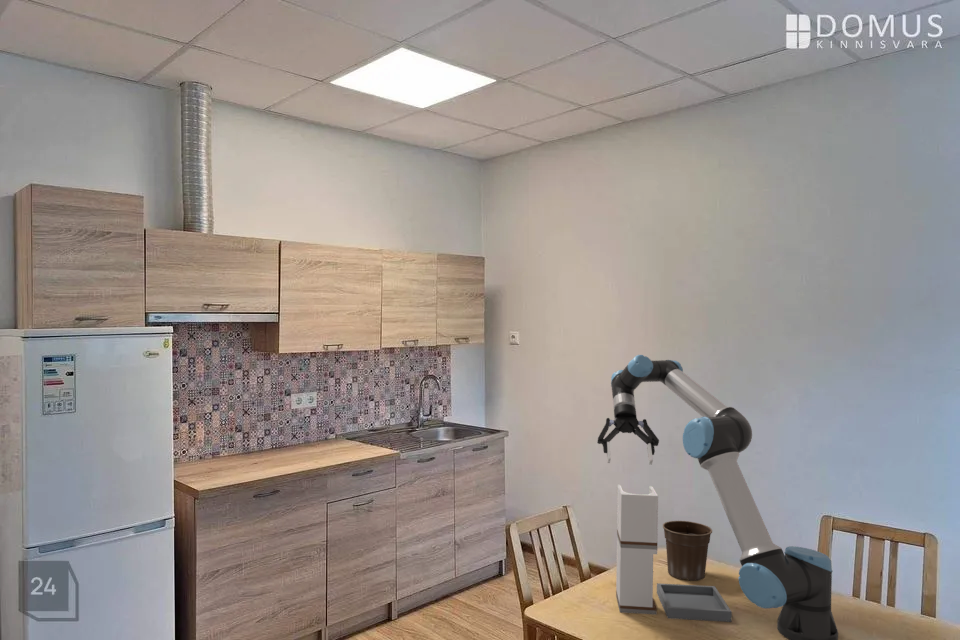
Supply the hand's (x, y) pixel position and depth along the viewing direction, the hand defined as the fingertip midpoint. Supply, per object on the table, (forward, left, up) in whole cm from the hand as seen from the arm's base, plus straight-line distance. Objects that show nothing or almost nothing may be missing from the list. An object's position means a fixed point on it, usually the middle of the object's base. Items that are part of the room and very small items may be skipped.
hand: (630, 461), depth 214 cm
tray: (-17, +15, -40) cm, 46 cm away
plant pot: (-21, -11, -41) cm, 47 cm away
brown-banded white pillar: (0, +16, -40) cm, 43 cm away
